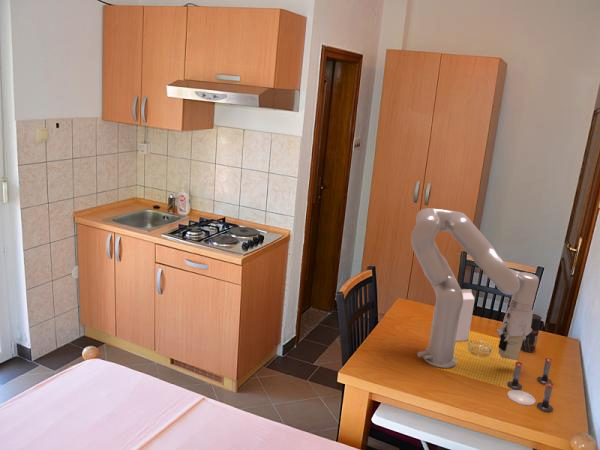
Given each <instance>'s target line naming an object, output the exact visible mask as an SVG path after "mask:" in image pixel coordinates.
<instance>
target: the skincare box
mask: <svg viewBox="0 0 600 450" xmlns="http://www.w3.org/2000/svg"><path fill="white" fill-rule="evenodd" d="M506 335H507V334H505V335H504V336H505V337H506ZM524 335H525V331H524V333H523V336H510V337H509V338H508V340H507V342H508V343H507V347H506V351H503V350H501V349H500V348H499V347H498V352H497V353H498V354H499V356H500V358H501V359H506V360H507V359H508V360H512V361H518V360H519V356H520V352H521V351H522V350H521V346H522V342H523V339H524Z"/></svg>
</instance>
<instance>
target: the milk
mask: <svg viewBox="0 0 600 450" xmlns="http://www.w3.org/2000/svg"><path fill="white" fill-rule="evenodd" d="M461 290H462V293H463V305H462V309H461V312H460V317H459V322H458V329H457V335H456V342H460V341H464V342H465V341H468V340H469V336H470V331H471V330H470V329H471V325H472V324H471V323H472V317H473V311H474V308H475V307H474V304H475V301H476V300H475V297H474V295H473V293H472V291H473V290H472V289H471V288H469V289H461Z"/></svg>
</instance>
